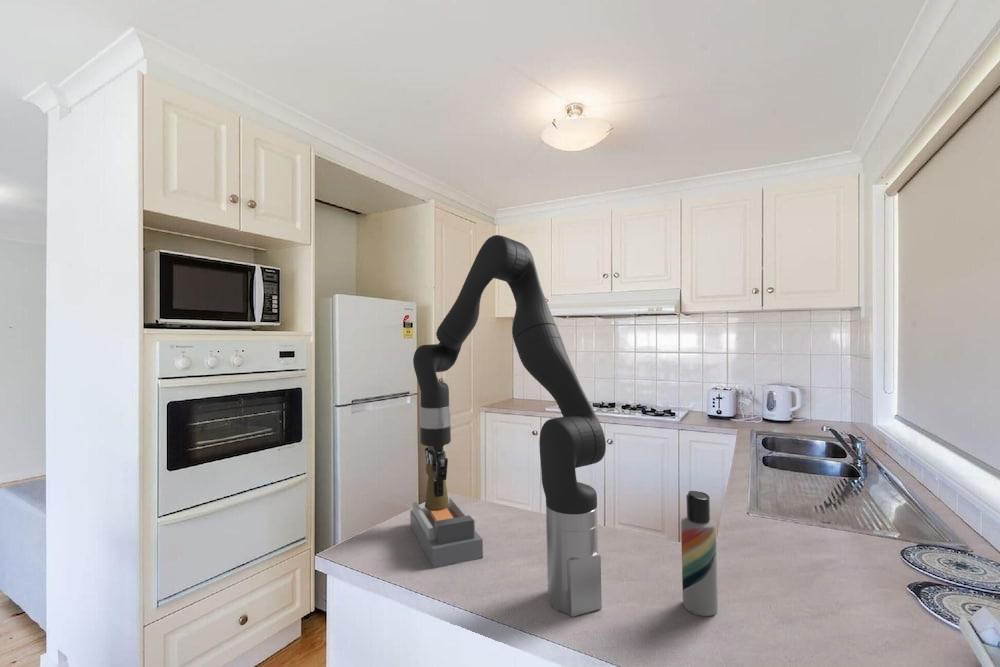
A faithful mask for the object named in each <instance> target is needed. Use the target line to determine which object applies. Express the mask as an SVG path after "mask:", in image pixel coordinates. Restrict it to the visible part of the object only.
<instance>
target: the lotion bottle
mask: <svg viewBox="0 0 1000 667" xmlns="http://www.w3.org/2000/svg"><path fill="white" fill-rule="evenodd" d="M685 498H686V499H685V500H686V515H685V516H683V517H681V521H680V522H681V523H680V529H681V530H680V532H681V534H680V536H681V537H680V538H681V576H682V578H681V579H682V581H681V582H682V587H681V588H682V604H683V607H684V608H685V610H687V611H688V612H690V613H691V614H695V615H697V616H701V617H710V616H714V615H716V614H717V613H718V610H719V596H718V595H719V594H718V593H719V591H718V590H719V589H718V588H719V586H718V585H719V584H718V543H717V542H718V540H717V536H718V535H717V524H716V521H715V520H714V519H712V518H711V499H710V496H709V494H707V493H706V492H702V491H697V490H689V491H688V493H687V494H686V497H685Z"/></svg>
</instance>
